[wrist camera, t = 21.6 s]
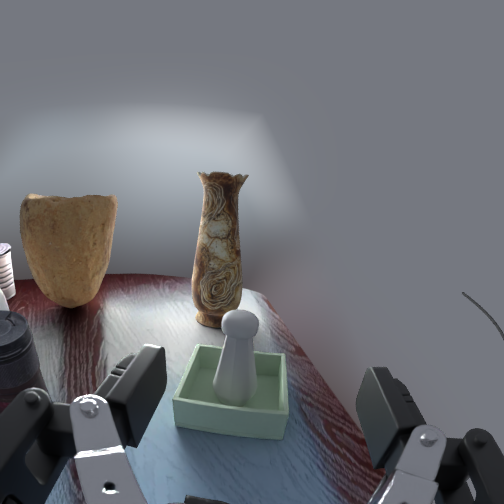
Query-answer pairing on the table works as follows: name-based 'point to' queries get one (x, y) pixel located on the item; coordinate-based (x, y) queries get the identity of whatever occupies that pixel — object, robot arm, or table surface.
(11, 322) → the camera lens
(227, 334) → the salt shaker
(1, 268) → the can
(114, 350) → the table surface
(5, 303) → the piggy bank
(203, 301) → the vase
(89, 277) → the tan rough tapered pot
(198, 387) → the open box
